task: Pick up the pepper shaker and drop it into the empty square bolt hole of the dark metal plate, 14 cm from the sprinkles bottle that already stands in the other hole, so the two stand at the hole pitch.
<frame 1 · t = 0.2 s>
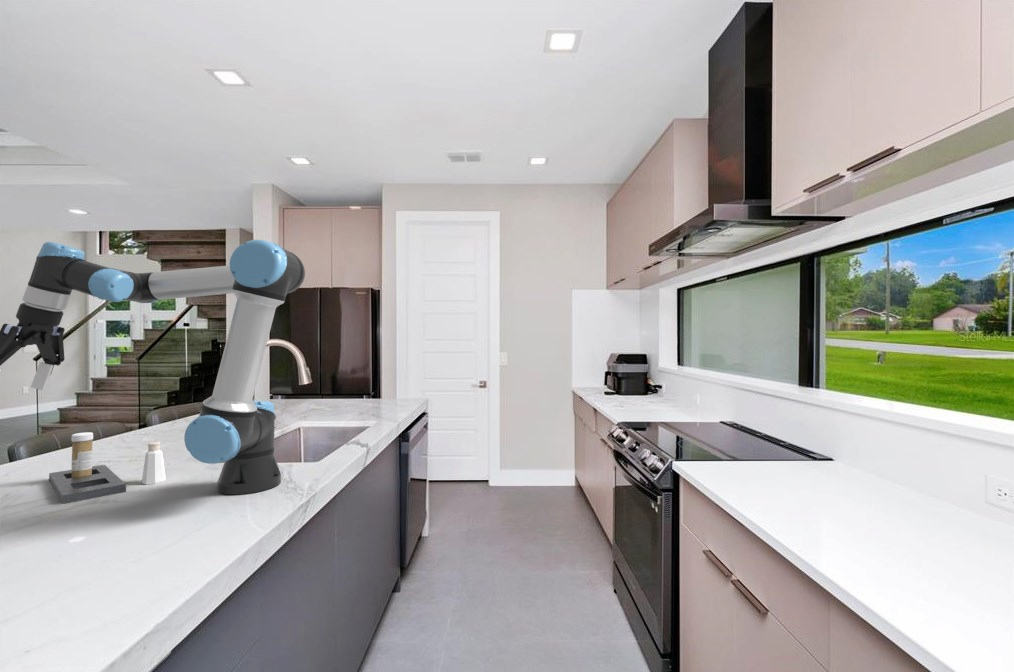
hand: (12, 392, 108), 28 cm above the countertop, tool tilted 20°, fingers open, 13 cm apart
sprinkles bottle: (81, 481, 130), resting in bolt plate
bolt plate: (85, 485, 125), on the countertop
pepper shaker: (153, 482, 129), on the countertop
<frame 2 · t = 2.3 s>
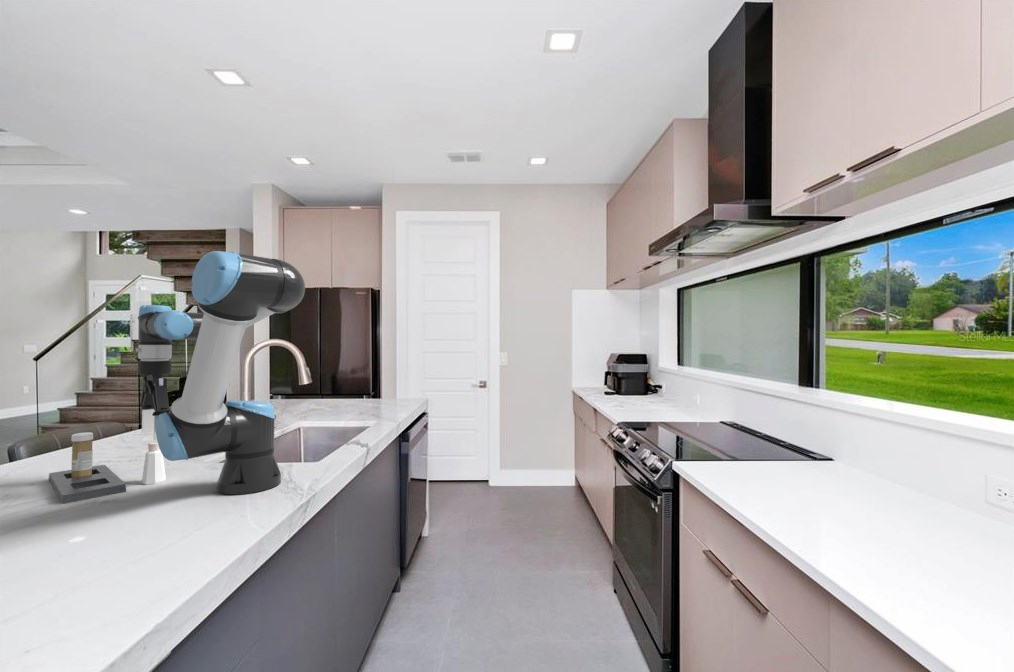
hand: (153, 435, 129), 13 cm above the countertop, tool pointing down, fingers open, 13 cm apart
nothing on the countertop moved.
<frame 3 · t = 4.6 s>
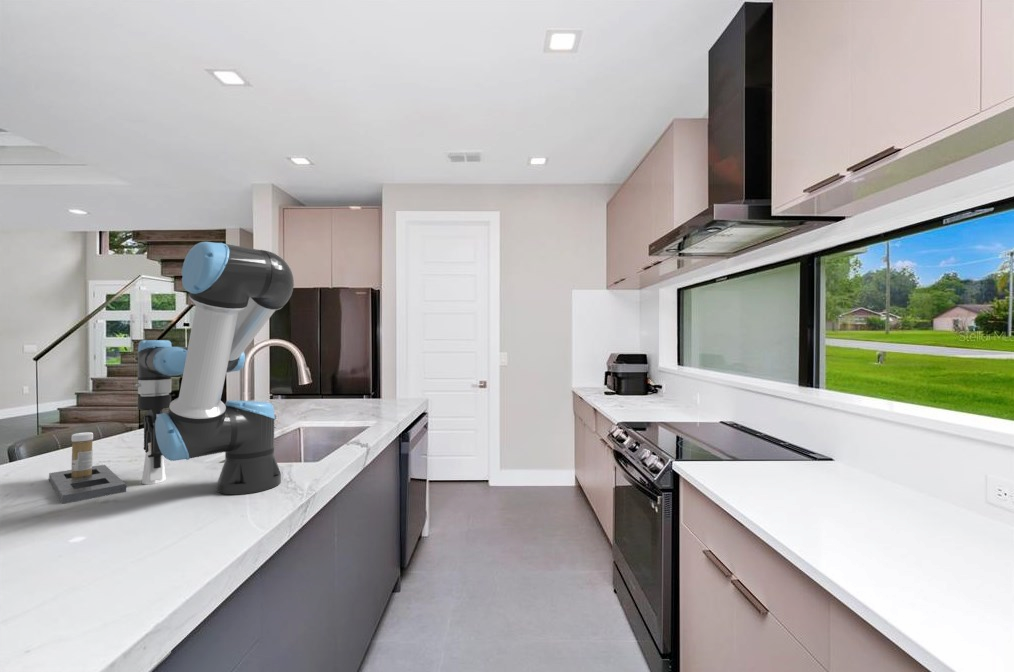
hand: (153, 477, 129), 1 cm above the countertop, tool pointing down, fingers closed on pepper shaker, 4 cm apart
pepper shaker: (153, 482, 129), on the countertop, touching gripper
everything else where it was.
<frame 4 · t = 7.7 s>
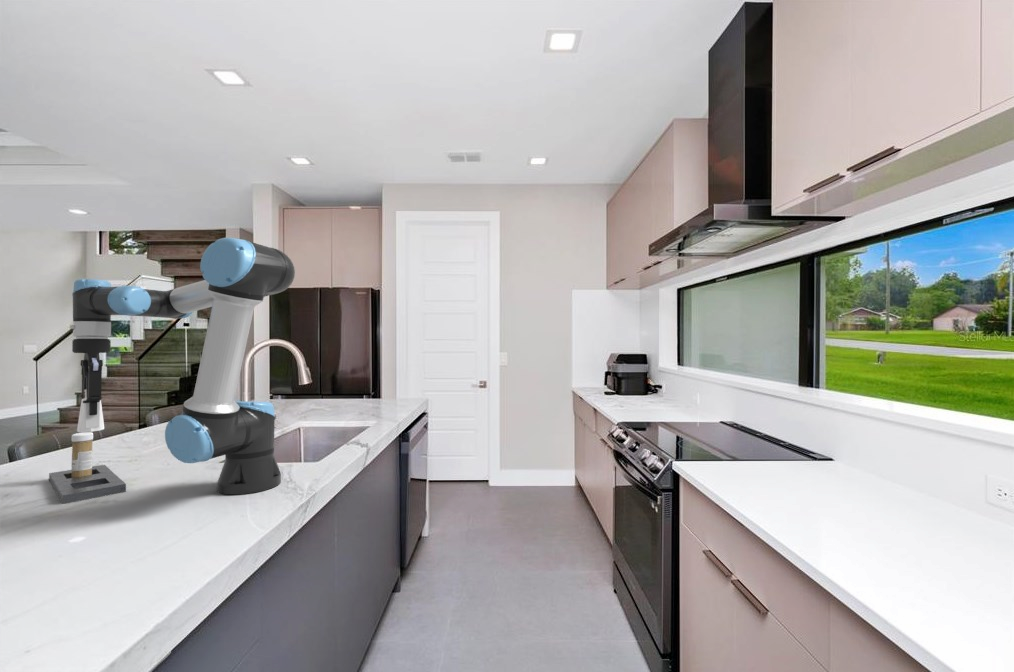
hand: (90, 426, 121), 17 cm above the countertop, tool pointing down, fingers closed on pepper shaker, 4 cm apart
pepper shaker: (90, 431, 121), point 16 cm above the countertop, touching gripper
everything else where it was.
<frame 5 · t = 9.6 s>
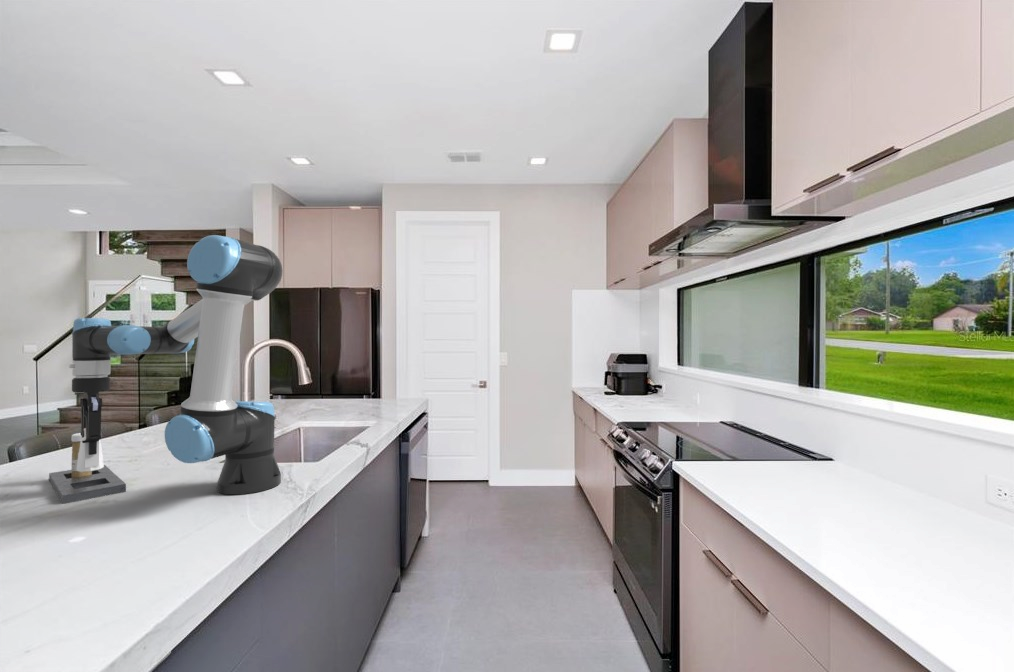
hand: (90, 464, 121), 7 cm above the countertop, tool pointing down, fingers closed on pepper shaker, 4 cm apart
pepper shaker: (90, 470, 121), point 6 cm above the countertop, touching gripper
everything else where it was.
when the fingers open (4 cm above the countertop, at t = 11.1 s): pepper shaker drops 3 cm, resting in bolt plate.
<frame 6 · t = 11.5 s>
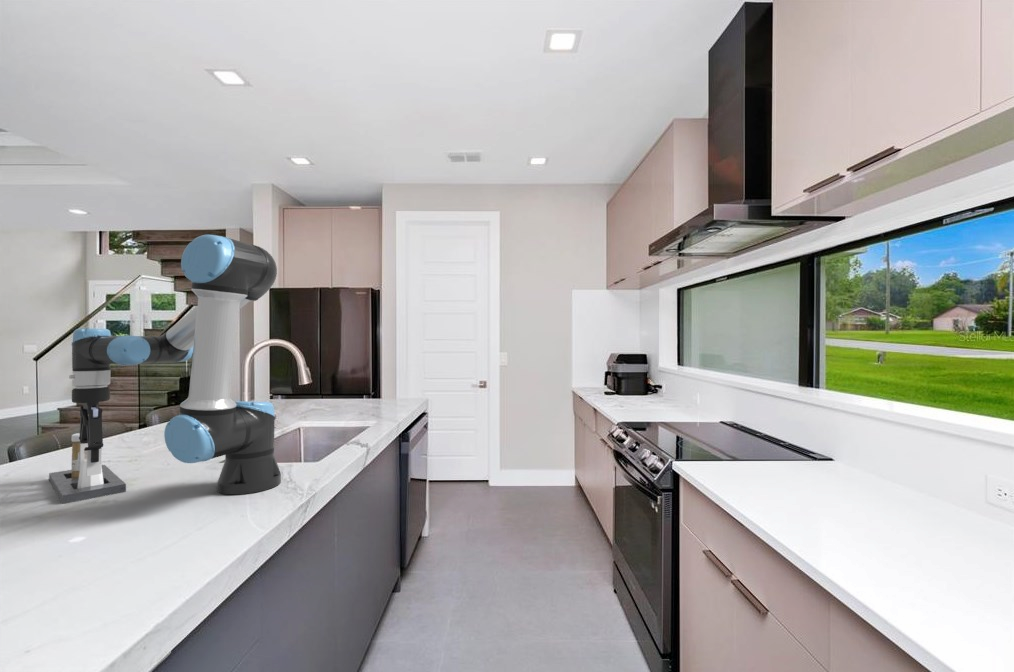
hand: (90, 470, 121), 5 cm above the countertop, tool pointing down, fingers open, 10 cm apart
pepper shaker: (90, 491, 121), resting in bolt plate
everything else where it was.
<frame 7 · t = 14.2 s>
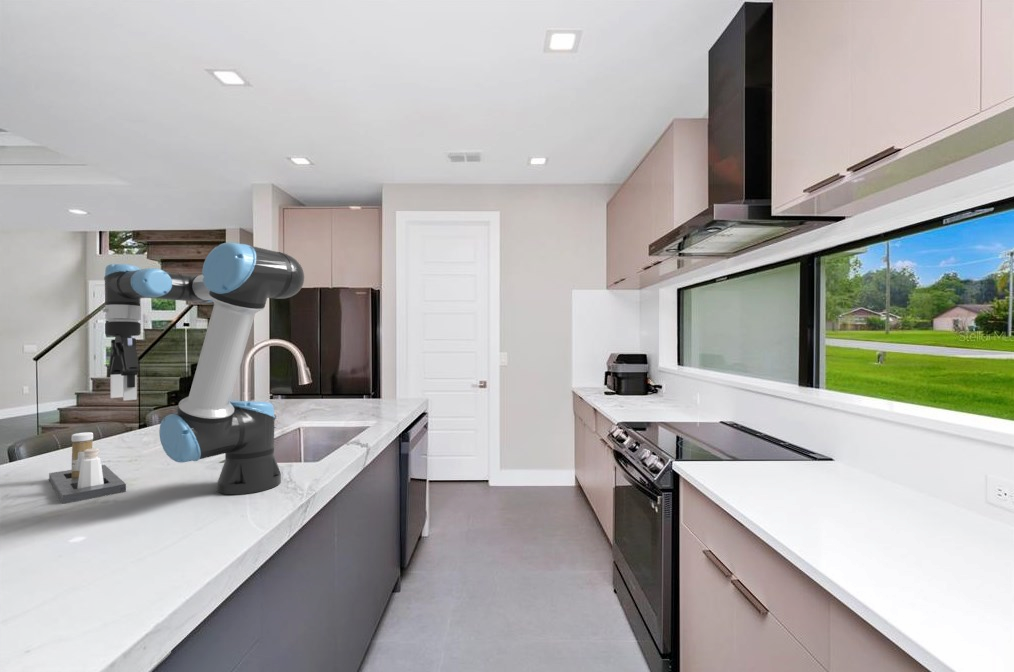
hand: (123, 398, 125), 24 cm above the countertop, tool pointing down, fingers open, 13 cm apart
nothing on the countertop moved.
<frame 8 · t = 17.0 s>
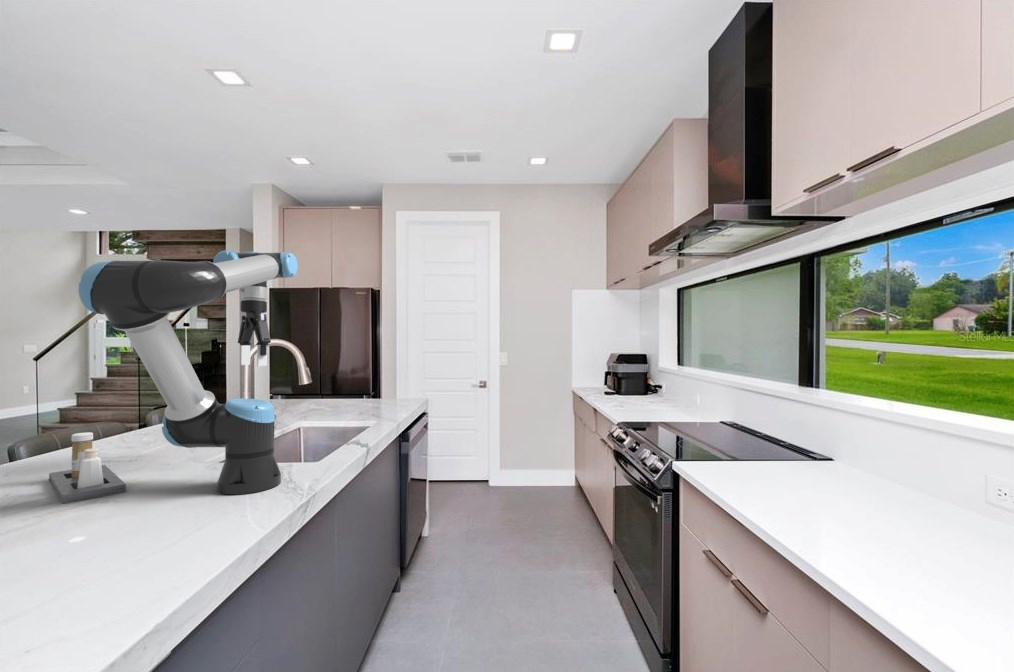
hand: (253, 365, 149), 32 cm above the countertop, tool pointing down, fingers open, 13 cm apart
nothing on the countertop moved.
at the end: pepper shaker 0.2 cm from the target spot on the bolt plate, point 0.0 cm above the bolt plate's base; pepper shaker tilted 0°; sprinkles bottle moved 0.2 cm from its start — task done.
